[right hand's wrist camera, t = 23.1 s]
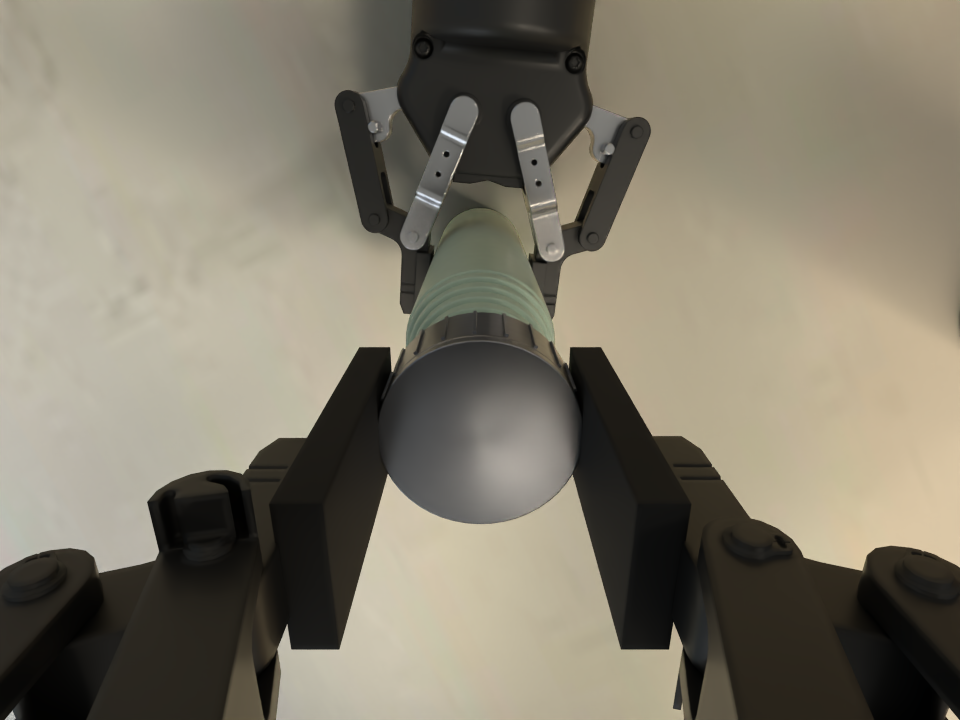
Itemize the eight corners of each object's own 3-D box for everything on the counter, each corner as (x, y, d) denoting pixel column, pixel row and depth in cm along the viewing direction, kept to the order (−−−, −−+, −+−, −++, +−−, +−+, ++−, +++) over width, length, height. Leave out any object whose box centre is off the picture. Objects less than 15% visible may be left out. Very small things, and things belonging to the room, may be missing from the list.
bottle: (536, 256, 34) (623, 438, 13) (473, 303, 35) (463, 540, 15) (487, 190, 33) (500, 279, 12) (423, 241, 34) (333, 404, 13)
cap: (602, 429, 15) (621, 474, 13) (446, 503, 16) (441, 556, 14) (519, 275, 13) (526, 298, 11) (353, 364, 14) (332, 400, 12)
